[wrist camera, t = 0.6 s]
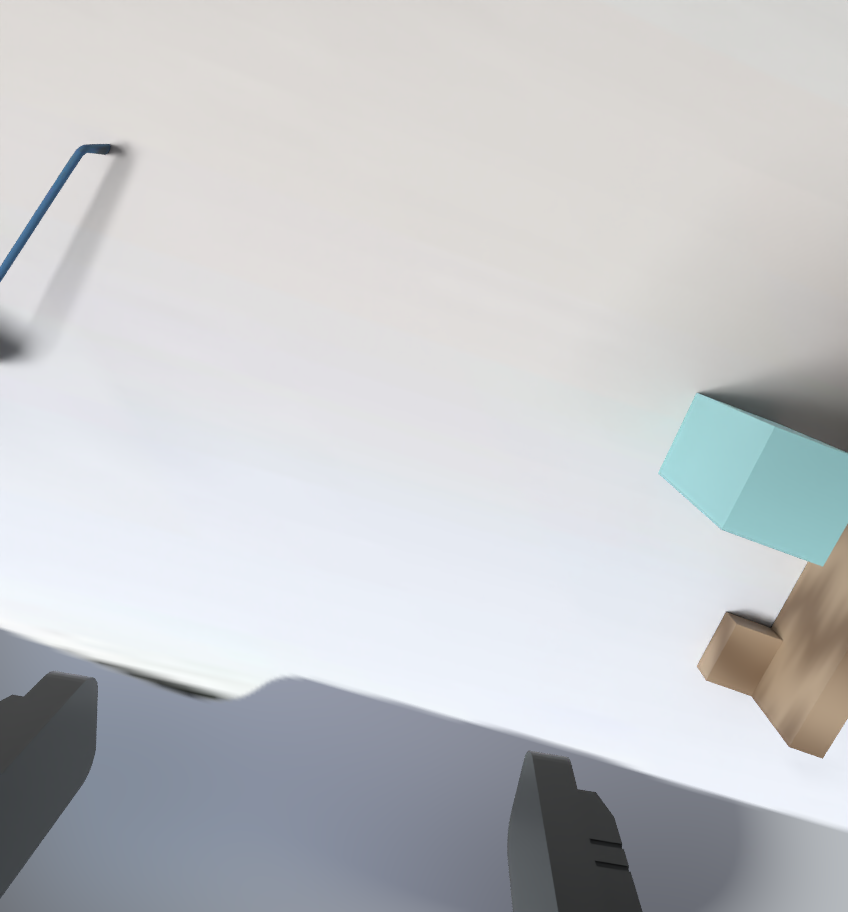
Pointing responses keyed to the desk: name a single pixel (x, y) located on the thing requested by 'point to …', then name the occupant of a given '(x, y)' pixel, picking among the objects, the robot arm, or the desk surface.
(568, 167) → the desk surface
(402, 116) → the desk surface
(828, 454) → the teal block
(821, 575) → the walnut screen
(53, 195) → the sunglasses
